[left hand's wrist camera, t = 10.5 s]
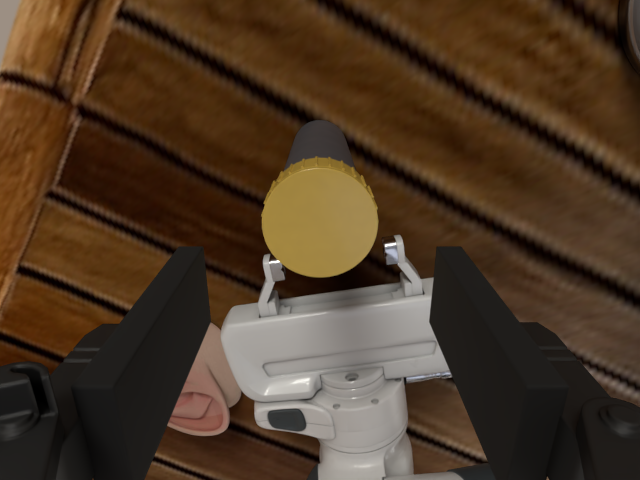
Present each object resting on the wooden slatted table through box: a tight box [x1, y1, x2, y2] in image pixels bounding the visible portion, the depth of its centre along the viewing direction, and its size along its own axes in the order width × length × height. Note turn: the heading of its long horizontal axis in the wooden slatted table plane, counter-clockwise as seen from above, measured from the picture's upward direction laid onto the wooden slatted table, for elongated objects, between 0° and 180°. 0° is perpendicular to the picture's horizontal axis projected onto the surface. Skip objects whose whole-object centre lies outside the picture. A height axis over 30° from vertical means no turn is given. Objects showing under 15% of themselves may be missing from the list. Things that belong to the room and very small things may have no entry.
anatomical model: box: [167, 323, 241, 436], centre depth 44 cm, size 13×4×12 cm
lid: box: [261, 156, 379, 277], centre depth 21 cm, size 5×5×2 cm
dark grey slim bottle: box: [284, 120, 356, 171], centre depth 29 cm, size 4×4×20 cm
